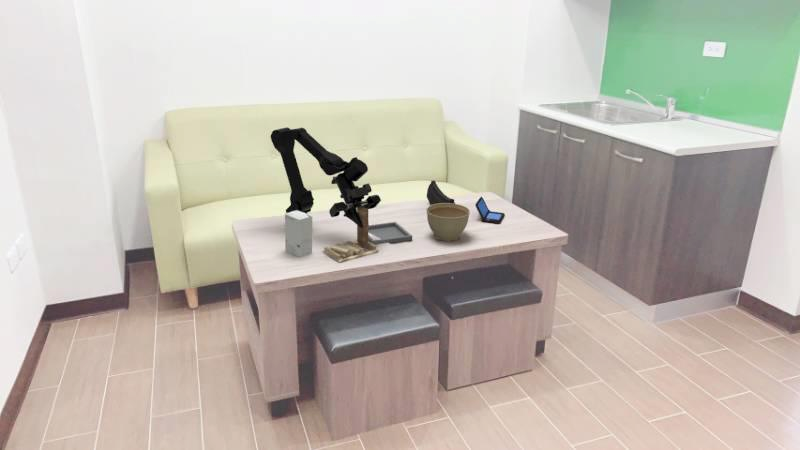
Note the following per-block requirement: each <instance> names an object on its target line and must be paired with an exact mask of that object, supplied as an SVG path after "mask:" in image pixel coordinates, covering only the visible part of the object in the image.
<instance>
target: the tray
mask: <svg viewBox="0 0 800 450" xmlns="http://www.w3.org/2000/svg"><path fill="white" fill-rule="evenodd" d="M369 234H371V235H372V236H375V237H376V238H378V239H375V240H374V239H373V238H372V236H370V235H369ZM368 241H369V242H371V243H372V244H374V245H380V244H386V243H387V244H389V245H393V244H399V243H400V244H401V243H406V242H407V243H408V242H412V241H413V235H412V234H411V233H410V232H408V231H407V230H406V229H405V228H404V227H402V225H400V224H399V223H398V222H397V221H394V222H393V221H391V222H382V223H375V224H370V225H368Z"/></svg>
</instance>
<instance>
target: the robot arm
mask: <svg viewBox="0 0 800 450" xmlns="http://www.w3.org/2000/svg"><path fill="white" fill-rule="evenodd" d="M270 140H271V143H272V145H273V146H274V148H275V150H276V151H278V153H279V154H280V156H281V160H282V163H283V167H284V170H285V174H286V177H287V180H288V183H289V188H290V195H289V201H290V203H289V204H290V205H289V206H288V207H287V208H286V209H285V213H289V212H293V211H296V210H298V211H300V212H304V213H306V214H309V213H311V211H312V208H313V207H314V203H315V202H314V200H315V199H314V197H313V193H312V190H311V189H307V188H306V187H305V185H304V182H303V177H302V176H301V172H300V169H299V165H298V161H297V157H296V155H295V154H296V153H295V151H294V148H295V144H296V142H297V143H298V144H300V145H301V147H303V149H305V150H306V151H307V152H308V153H309V154H310V155H311V156H312V157H314V158H315V160H317V162H318V165H319V168H320V169H321V170H322V171H323V173H324V174H325V175H327V176H333V177H332V179H331V182H330V183H331V185H336V186H337V187H338V191H339V192H340V195H339V197H340V199H343V201H339V202H334V203H333V205H332V206H331V207H330V208H329V215H330V217H331V218H334V217H335V218H337V217H339V216H340V213H341V212H343V213H344V214H343V217H346V218H348V219H349V220H351V221H352V223H354V224H355V225H356V226H357V225H358V226H359V227H360V228H362V227H363V225H362V222H361V220H360V218H359V216H358V213H357V207H361V206H363V207H365V208H367V209H368V210H371V209H374V208H376V207H377V206H378V205H379V204H380V203H381V201H382V199H381V197H380V195H378V194H373V195H370V194H369V193H371V192H373V191H372V187H371V185H370V182H369V183H365V184H363V185H362V187H359V186H358V185H355V182H357V181H359V180H360V179H361V178H362V177H364V175H366V173H367V172H368V171H369V169H368V168H369V167H368V165H367V163H366V162H364V161H363V160H361V159H358V157H356V156H354V157H353V158H351V160H350V161H347V160H346V161H345V160H344V159H343V158H342V157H341V156H339V155H338V154H336V153H333V152H331V151H328V150H327V149H326V148H325V147H324V146H323V145H322V144H321V143H319V142H318V141H317V140H316V139H315V138H314V137H313V136H312V135H311V134H310V133H309V132H308V131H307V130H306V128H305V127H299V128H291V127H290V128H289V127H286V126H285V127H282V128H277V129H273V130H272V132H271V134H270ZM336 174H337V175H336ZM334 175H336V176H334ZM366 196H368V197H366ZM365 197H366V199H365ZM369 224H370V223H369V222H368V225H369Z"/></svg>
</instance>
